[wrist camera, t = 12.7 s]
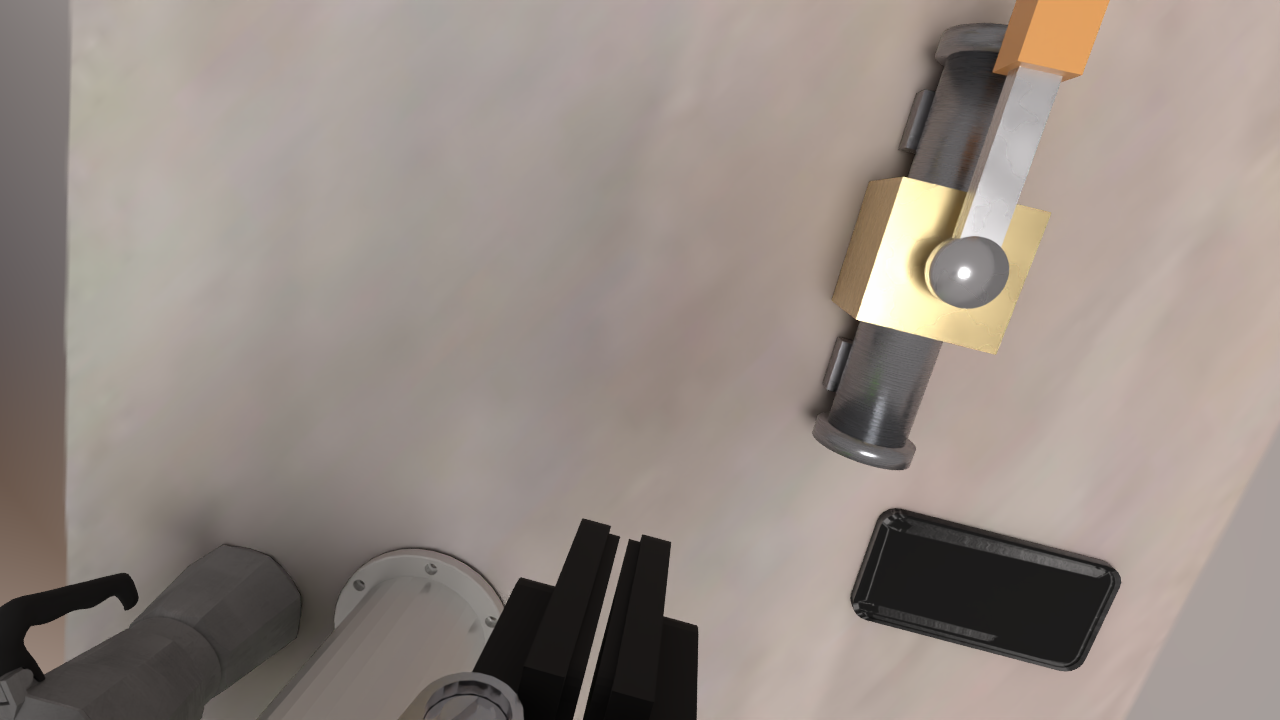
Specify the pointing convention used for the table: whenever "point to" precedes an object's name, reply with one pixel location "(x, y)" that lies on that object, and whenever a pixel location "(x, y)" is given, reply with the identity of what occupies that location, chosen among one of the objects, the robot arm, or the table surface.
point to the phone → (983, 589)
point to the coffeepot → (153, 642)
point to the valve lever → (1012, 143)
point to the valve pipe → (919, 262)
